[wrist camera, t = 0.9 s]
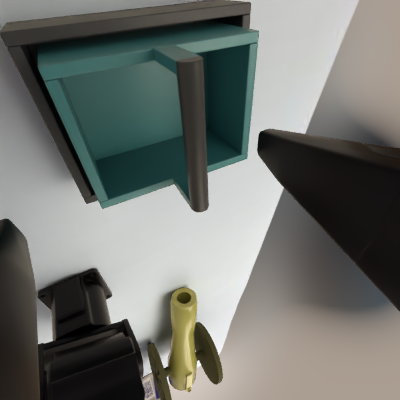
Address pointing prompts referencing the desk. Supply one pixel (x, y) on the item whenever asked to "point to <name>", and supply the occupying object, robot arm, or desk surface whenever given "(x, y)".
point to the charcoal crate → (95, 26)
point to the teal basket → (154, 105)
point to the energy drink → (150, 388)
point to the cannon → (185, 348)
